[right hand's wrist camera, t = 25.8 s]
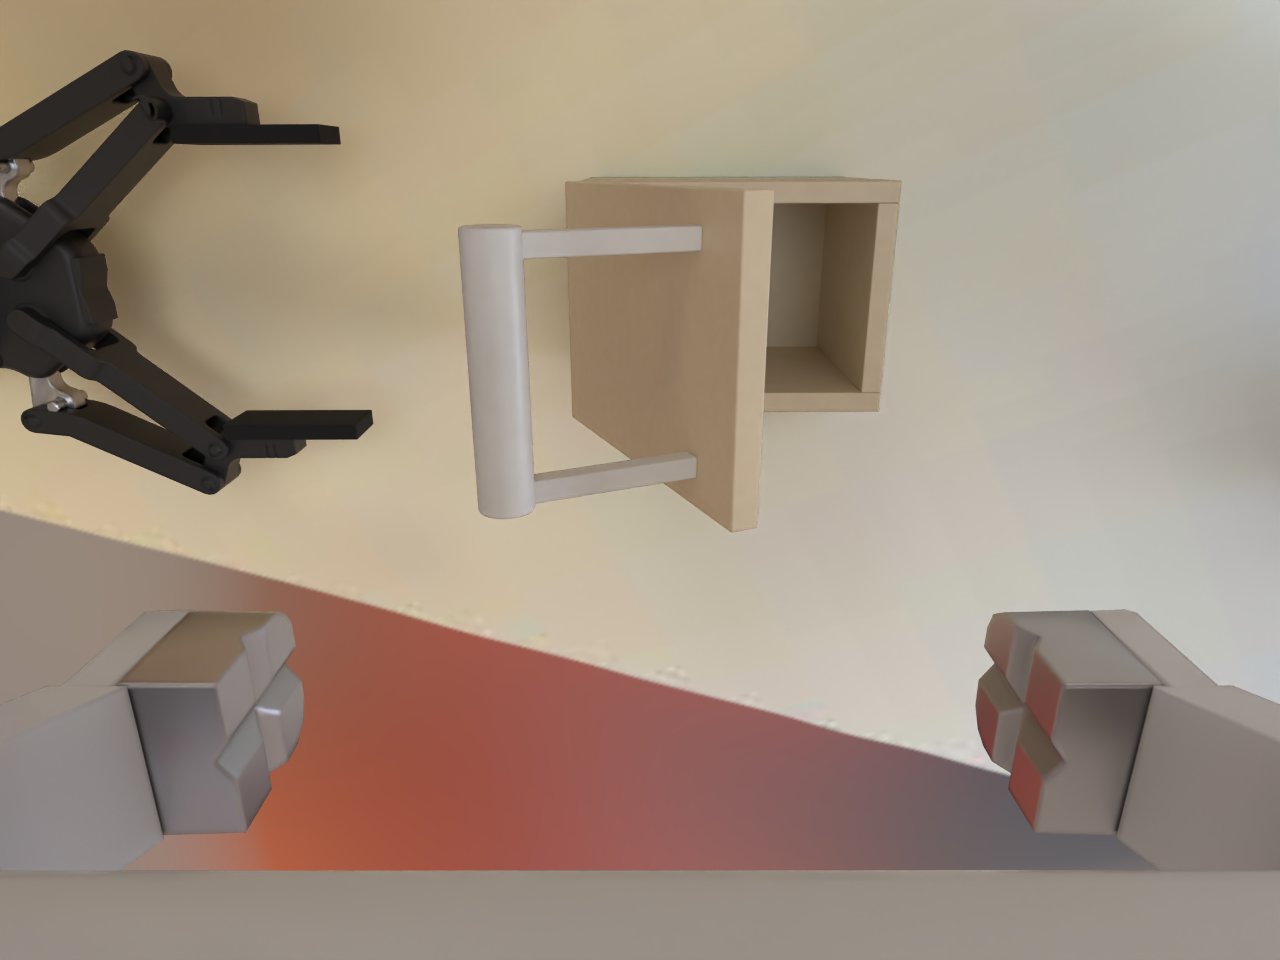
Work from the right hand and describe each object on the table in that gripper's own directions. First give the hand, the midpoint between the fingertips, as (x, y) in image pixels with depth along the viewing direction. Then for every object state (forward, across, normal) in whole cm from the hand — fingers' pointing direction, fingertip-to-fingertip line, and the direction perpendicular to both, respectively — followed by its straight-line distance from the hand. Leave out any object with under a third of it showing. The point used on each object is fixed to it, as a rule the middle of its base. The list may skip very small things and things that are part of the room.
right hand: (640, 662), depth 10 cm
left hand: (+33, +14, 0) cm, 36 cm away
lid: (+21, -1, 0) cm, 22 cm away
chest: (+39, -4, 0) cm, 40 cm away
